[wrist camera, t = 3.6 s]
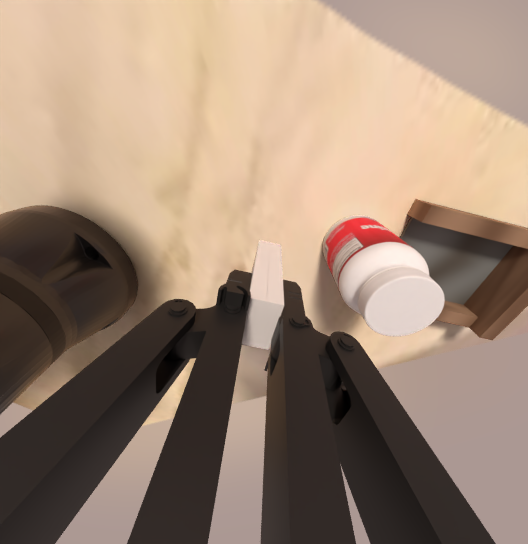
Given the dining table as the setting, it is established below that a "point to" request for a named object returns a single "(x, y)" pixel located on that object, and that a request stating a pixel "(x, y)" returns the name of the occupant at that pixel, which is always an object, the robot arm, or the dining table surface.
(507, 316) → the tray
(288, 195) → the dining table surface
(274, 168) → the dining table surface
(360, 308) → the pill bottle
